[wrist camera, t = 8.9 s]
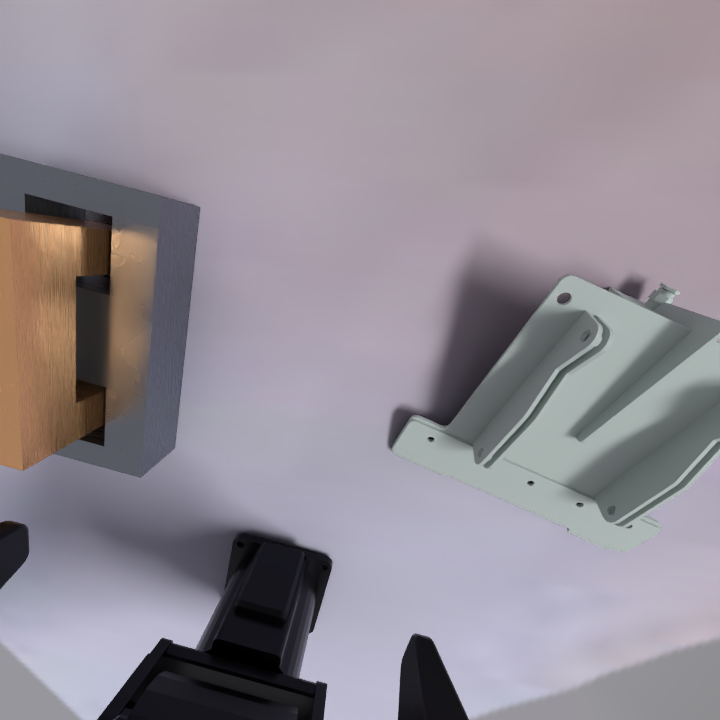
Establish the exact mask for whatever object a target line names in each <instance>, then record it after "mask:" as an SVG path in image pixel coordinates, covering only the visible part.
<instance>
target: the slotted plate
mask: <svg viewBox="0 0 720 720" xmlns="http://www.w3.org/2000/svg"><path fill="white" fill-rule="evenodd" d="M0 209H5V210H12V211H20V212H27V213H35V214H42V215H50V216H57V217H65V218H72V219H80V220H85V209H86V210H89V211H93V212H97V213H101V214H104V215H108V216H112V242H111V271H110V278H107V277H103V276H99V275H91V276H76V379H78V380H81V381H85V382H89V383H92V384H96V385H100V386H103V387H106V412H105V424H104V425H102V426H101V427H99V428H97V429H95V430H94V431H92V432H90V433H88V434H87V435H85V436H83V437H81V438H80V439H78V440H76V441H74V442H73V443H71V444H69V445H67V446H66V447H64V448H62V449H60V450H58V451H57V452H55V453H53V454H57V455H60V456H64V457H68V458H71V459H75V460H78V461H82V462H86V463H89V464H93V465H97V466H100V467H104V468H108V469H111V470H115V471H118V472H122V473H126V474H129V475H133V476H137V477H140V478H141V477H142V476H143V475H144V474H145V473H147V472H148V471H149V470H150V469H151V468H152V467H153V466H155V465H156V464H157V463H158V462H159V461H160V460H162V459H163V458H164V457H165V456H166V455H167V454H168V453H170V452H171V451H172V450H173V449H174V448H175V441H176V432H177V422H178V413H179V403H180V394H181V384H182V375H183V365H184V356H185V346H186V337H187V327H188V318H189V308H190V299H191V289H192V280H193V270H194V260H195V251H196V241H197V232H198V222H199V213H200V207H198V206H194V205H190V204H187V203H183V202H180V201H176V200H173V199H169V198H166V197H162V196H158V195H155V194H151V193H147V192H143V191H139V190H136V189H132V188H128V187H124V186H121V185H117V184H113V183H109V182H105V181H102V180H98V179H94V178H90V177H87V176H83V175H79V174H75V173H72V172H68V171H64V170H60V169H56V168H53V167H49V166H45V165H41V164H38V163H34V162H30V161H26V160H22V159H19V158H15V157H11V156H7V155H4V154H0Z"/></svg>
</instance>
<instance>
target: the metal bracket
mask: <svg viewBox="0 0 720 720" xmlns="http://www.w3.org/2000/svg"><path fill="white" fill-rule="evenodd" d="M660 286H661V287H660V288H659V289H658V290H657V291H656V290H654V291H653V292H652V294H651V295H650V296H649V298H650V299H649V300H648V301H647V302H646V303H644V302H642V301H640V300H637V299H635V298H633V297H631V296H629V295H625V294H623V293H621V292H620V291H618V290H616V289H614V288H611V287H609V289H608V291H607V290H605V289H603V288H601V287H598V286H596V285H594V284H592V283H590V282H588V281H586V280H583V279H581V278H579V277H577V276H575V275H570V274H568V275H565V276H563V277H562V278H561V279H559V281H558V282H557V283H556V285H555V286H554V287H553V289H552V290H551V291H550V292H549V294H548V295H547V296H546V298H545V299H544V300H543V302H542V303H541V304H540V306H539V307H538V308H537V310H536V311H535V312H534V314H533V315H532V316H531V318H530V319H529V320H528V322H527V323H526V324H525V325H524V327H523V328H522V329H521V331H520V332H519V333H518V335H517V336H516V337H515V339H514V340H513V341H512V343H511V344H510V345H509V347H508V348H507V349H506V351H505V352H504V353H503V355H502V356H501V357H500V358H499V360H498V361H497V362H496V364H495V365H494V366H493V368H492V369H491V370H490V372H489V373H488V374H487V376H486V377H485V378H484V380H483V381H482V382H481V384H480V385H479V386H478V387H477V389H476V390H475V391H474V393H473V394H472V395H471V397H470V398H469V399H468V401H467V402H466V403H465V405H464V406H463V407H462V409H461V410H460V411H459V413H458V414H457V415H456V417H455V418H454V419H453V420H452V422H451V423H450V424H449V425H446V426H443V425H440V424H438V423H435V422H433V421H431V420H428V419H426V418H424V417H422V416H419V415H413V416H411V417H410V419H409V420H408V422H407V423H406V425H405V426H404V428H403V430H402V431H401V433H400V434H399V436H398V437H397V439H396V440H395V442H394V443H393V445H392V448H391V450H392V452H393V453H394V454H395V455H397V456H399V457H401V458H403V459H406V460H408V461H410V462H412V463H415V464H417V465H419V466H421V467H424V468H426V469H428V470H430V471H432V472H435V473H437V474H439V475H443V474H445V475H447V476H449V477H452V478H454V479H456V480H458V481H461V482H463V483H465V484H468V485H470V486H472V487H474V488H477V489H479V490H481V491H484V492H486V493H488V494H490V495H493V496H495V497H497V498H500V499H502V500H504V501H506V502H509V503H511V504H513V505H516V506H518V507H520V508H523V509H525V510H527V511H529V512H532V513H534V514H536V515H539V516H541V517H543V518H545V519H548V520H550V521H552V522H555V523H557V524H559V525H561V526H564V527H566V528H568V529H569V530H568V533H570V534H573V535H575V536H578V537H580V538H581V539H584V540H586V541H588V542H590V543H593V544H595V545H597V546H599V547H601V548H604V549H609V550H617V551H622V552H627V551H629V550H631V549H633V548H635V547H636V546H638V545H640V544H641V543H643V542H645V541H647V540H648V539H650V538H652V537H653V536H655V535H657V534H659V533H660V532H661V530H660V528H661V524H660V523H659V522H658V521H657V520H655V519H653V518H651V517H648V516H646V515H647V514H649V513H651V512H652V511H654V510H655V509H657V508H658V507H660V506H662V505H663V504H665V503H666V502H668V501H670V500H671V499H673V498H674V497H676V496H677V495H679V494H681V493H682V492H684V491H685V490H687V489H688V488H689V487H690V486H691V485H692V484H693V483H694V482H695V481H696V480H697V479H698V478H699V476H700V475H701V474H702V473H703V472H704V471H705V470H706V469H707V468H708V467H709V466H710V465H711V464H712V463H713V461H714V460H715V459H716V458H717V457H718V456H719V455H720V342H718V341H717V340H718V339H720V321H718V320H715V319H712V318H709V317H706V316H703V315H701V314H698V313H695V312H692V311H689V310H686V309H683V308H680V307H677V306H674V305H671V304H670V303H671V302H672V301H673V299H672V298H673V297H674V296H675V295H676V294H677V295H679V294H680V293H681V292H679V291H677V290H676V289H674V288H672V287H670V286H668V285H665V284H663V283H661V284H660ZM662 287H663V288H662ZM565 292H566V293H570V299H569V300H568V301H567V302H566V303H562V304H561V303H558V302H557V298H558V296H559V295H560V294H562V293H565ZM674 293H675V294H674ZM428 437H433V438H434V439H433V440H431V439H428ZM528 481H533V482H532V483H528ZM577 503H581V504H577Z"/></svg>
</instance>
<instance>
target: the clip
mask: <svg viewBox="0 0 720 720" xmlns="http://www.w3.org/2000/svg"><path fill="white" fill-rule="evenodd" d="M111 242H112V225H108V224H104V223H100V222H95V221H87V220H80V219H72V218H65V217H57V216H50V215H42V214H35V213H27V212H20V211H12V210H5V209H0V465H3V466H7V467H11V468H15V469H18V470H22V471H23V470H25V469H27V468H29V467H30V466H32V465H34V464H36V463H37V462H39V461H41V460H43V459H44V458H46V457H48V456H50V455H51V454H53V453H55V452H57V451H58V450H60V449H62V448H64V447H66V446H67V445H69V444H71V443H73V442H74V441H76V440H78V439H80V438H81V437H83V436H85V435H87V434H88V433H90V432H92V431H94V430H95V429H97V428H99V427H101V426H102V425H104V424H105V412H106V387H103V386H100V385H96V384H92V383H89V382H85V381H81V380H78V379H76V276H91V275H110V271H111Z"/></svg>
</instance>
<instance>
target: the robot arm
mask: <svg viewBox="0 0 720 720" xmlns="http://www.w3.org/2000/svg"><path fill="white" fill-rule="evenodd" d="M242 542H243V543H242ZM28 554H29V537H28V527H27V526H26V525H24V524H21V523H17V522H13V521H4V522H1V523H0V589H1V588H2V587H3V586H4V584H5V583H6V582H7V581H8V580H9V579H10V578H11V577H12V576H13V574H14V573H15V572H16V571H17V570H18V569H19V568H20V567H21V566H22V564H23V563H24V562H25V560H26V558H27V557H28ZM322 564H325V565H322ZM331 569H332V560H331V559H330V558H329V557H327V556H323V555H320V554H316V553H312V552H309V551H305V550H302V549H298V548H294V547H291V546H287V545H284V544H280V543H276V542H273V541H269V540H265V539H262V538H258V537H255V536H251V535H247V534H243V533H241V534H238V535H237V536H236V538H235V540H234V542H233V546H232V552H231V557H230V563H229V568H228V574H227V579H226V585H225V591H224V593H223V595H222V597H221V599H220V601H219V603H218V605H217V607H216V609H215V611H214V613H213V615H212V617H211V619H210V621H209V623H208V625H207V627H206V629H205V631H204V633H203V635H202V637H201V639H200V641H199V643H198V645H197V647H196V649H192V648H188V647H185V646H181V645H178V644H174V643H173V641H172V640H169V639H165V638H162V639H161V640H160V641H159V642H158V644H157V645H156V646H155V648H154V649H153V650H152V652H151V653H150V654H148V655H147V656H146V657H145V658H144V660H143V661H142V662H141V663H140V665H139V666H138V667H137V669H136V670H135V671H134V673H133V674H132V675H131V676H130V678H129V679H128V680H127V682H126V683H125V684H124V686H123V687H122V688H121V689H120V691H119V692H118V693H117V695H116V696H115V697H114V699H113V700H112V701H111V702H110V704H109V705H108V706H107V708H106V709H105V710H104V712H103V713H102V714H101V715H100V717H99V718H98V719H97V720H323V719H324V709H325V700H326V690H327V684H326V683H322V682H319V681H317V682H316V683H314V682H310V681H306V680H303V679H299V675H300V671H301V666H302V662H303V657H304V652H305V648H306V643H307V639H308V634H309V633H311V632H313V630H314V627H315V623H316V620H317V616H318V613H319V610H320V606H321V603H322V599H323V596H324V593H325V589H326V586H327V583H328V579H329V576H330V572H331ZM398 720H469V719H468V717H467V715H466V712H465V710H464V708H463V706H462V704H461V701H460V699H459V697H458V695H457V693H456V690H455V688H454V686H453V684H452V682H451V679H450V677H449V675H448V673H447V671H446V668H445V666H444V664H443V662H442V660H441V657H440V655H439V653H438V651H437V649H436V646H435V644H434V642H433V641H432V639H431V638H429V637H427V636H423V635H420V634H416V633H415V634H413V635H412V637H411V639H410V641H409V644H408V646H407V648H406V651H405V653H404V656H403V659H402V663H401V673H400V692H399V711H398Z"/></svg>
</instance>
